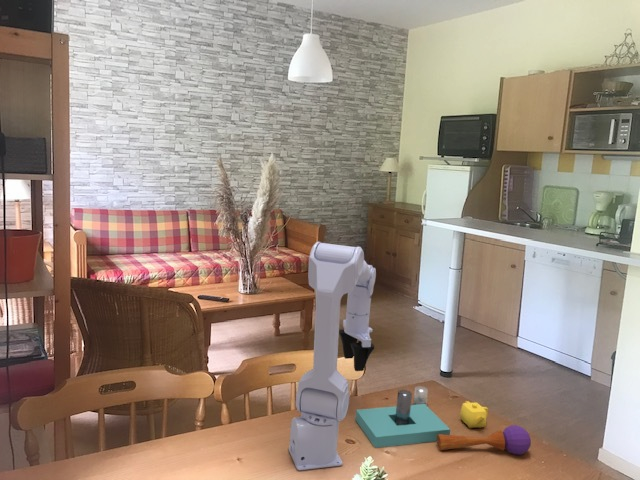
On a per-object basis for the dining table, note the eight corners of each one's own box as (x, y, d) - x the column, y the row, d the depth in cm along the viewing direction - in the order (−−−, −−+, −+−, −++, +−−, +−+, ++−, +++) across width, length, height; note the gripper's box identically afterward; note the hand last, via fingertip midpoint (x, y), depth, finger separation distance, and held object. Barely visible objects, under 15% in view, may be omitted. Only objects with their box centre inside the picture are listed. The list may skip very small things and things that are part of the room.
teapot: (494, 432, 123) (497, 412, 122) (472, 434, 121) (475, 413, 120) (477, 415, 130) (479, 396, 129) (456, 416, 129) (458, 397, 128)
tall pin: (397, 433, 119) (401, 396, 118) (391, 426, 122) (395, 390, 121) (410, 432, 120) (414, 395, 118) (404, 425, 123) (408, 389, 121)
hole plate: (375, 447, 113) (376, 437, 112) (355, 419, 124) (356, 409, 124) (449, 439, 118) (450, 429, 118) (423, 413, 129) (424, 403, 129)
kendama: (434, 423, 117) (523, 421, 118) (435, 450, 117) (523, 447, 118) (442, 433, 111) (535, 430, 112) (442, 461, 111) (535, 458, 112)
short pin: (416, 409, 131) (418, 392, 131) (411, 403, 134) (412, 386, 134) (428, 408, 132) (430, 391, 132) (422, 402, 135) (424, 385, 135)
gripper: (384, 321, 123) (379, 375, 126) (362, 302, 137) (358, 352, 139) (356, 321, 121) (352, 377, 124) (336, 303, 135) (333, 353, 137)
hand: (353, 364), depth 131 cm, fingers open, 7 cm apart
